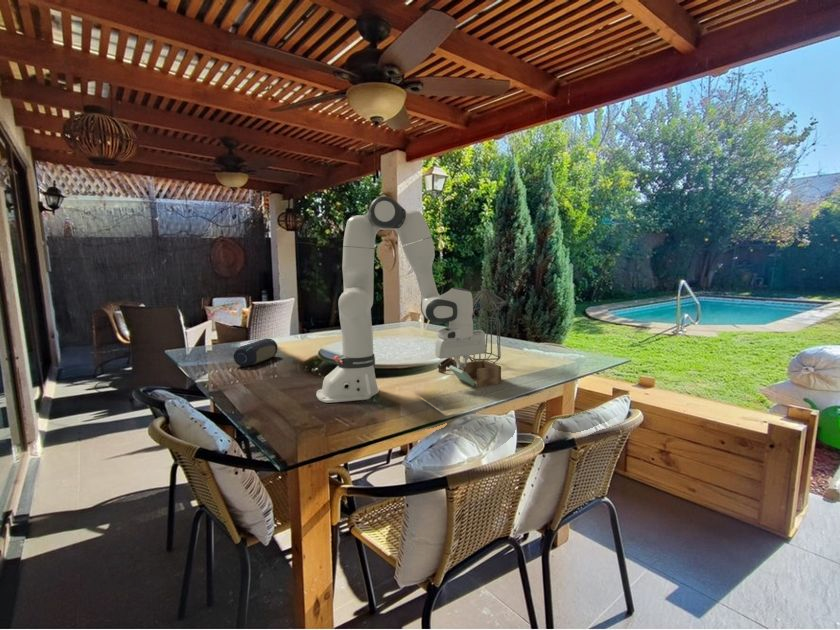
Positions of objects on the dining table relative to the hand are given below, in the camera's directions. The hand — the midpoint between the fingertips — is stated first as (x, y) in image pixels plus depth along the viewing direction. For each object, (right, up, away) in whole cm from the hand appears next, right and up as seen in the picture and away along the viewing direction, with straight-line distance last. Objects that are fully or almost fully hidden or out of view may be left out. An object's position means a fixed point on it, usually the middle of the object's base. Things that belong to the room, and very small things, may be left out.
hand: (461, 367), depth 161 cm
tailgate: (+2, -6, +2) cm, 7 cm away
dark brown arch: (-2, -6, +20) cm, 21 cm away
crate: (+8, -7, +5) cm, 12 cm away
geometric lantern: (+14, -4, +33) cm, 36 cm away
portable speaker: (-94, -3, +46) cm, 104 cm away
